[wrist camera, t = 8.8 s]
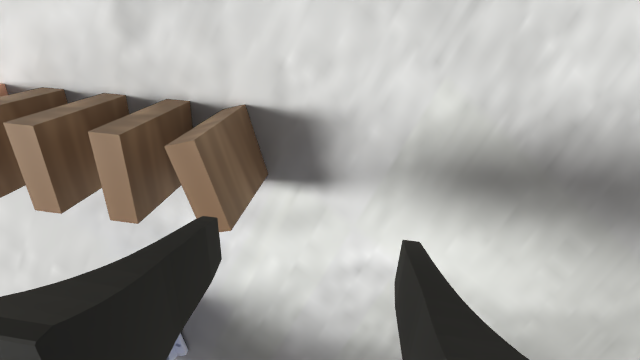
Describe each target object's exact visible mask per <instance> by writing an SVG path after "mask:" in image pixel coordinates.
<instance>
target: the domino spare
mask: <svg viewBox="0 0 640 360" xmlns="http://www.w3.org/2000/svg"><path fill="white" fill-rule="evenodd" d="M164 147H165V150H166V152H167V154H168V156H169V158H170V161H171V163H172V165H173V167H174V170H175V172H176V174H177V176H178V178H179V181H180V183H181V185H182V187H183V190H184V192H185V194H186V196H187V198H188V201H189V203H190V205H191V207H192V210H193V212H194V214H195V216H196V218H199V217H202V216H208V217H216V218H218V228H219V232H224V231H231V230H232V228H233V227H234V225H235V224H236V222H237V221H238V219H239V218H240V216H241V215H242V213H243V212H244V210H245V209H246V207H247V206H248V204H249V203H250V201H251V200H252V198H253V197H254V195H255V194H256V192H257V190H258V189H259V187H260V186H261V184H262V183H263V181H264V180H265V178H266V177H267V175H268V172H267V169H266V166H265V163H264V160H263V157H262V154H261V151H260V148H259V145H258V142H257V139H256V136H255V133H254V130H253V127H252V124H251V121H250V118H249V115H248V112H247V109H246V106H245V105H240V106H236V107H232V108H227V109H223V110H221V111H220V112H218V113H216V114H215V115H213V116H212V117H210V118H208V119H207V120H205V121H204V122H202V123H201V124H199V125H197V126H196V127H194V128H193V129H191V130H189V131H188V132H186V133H185V134H183V135H181V136H180V137H178V138H177V139H175V140H174V141H172V142H170V143H169V144H167V145H166V146H164Z"/></svg>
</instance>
